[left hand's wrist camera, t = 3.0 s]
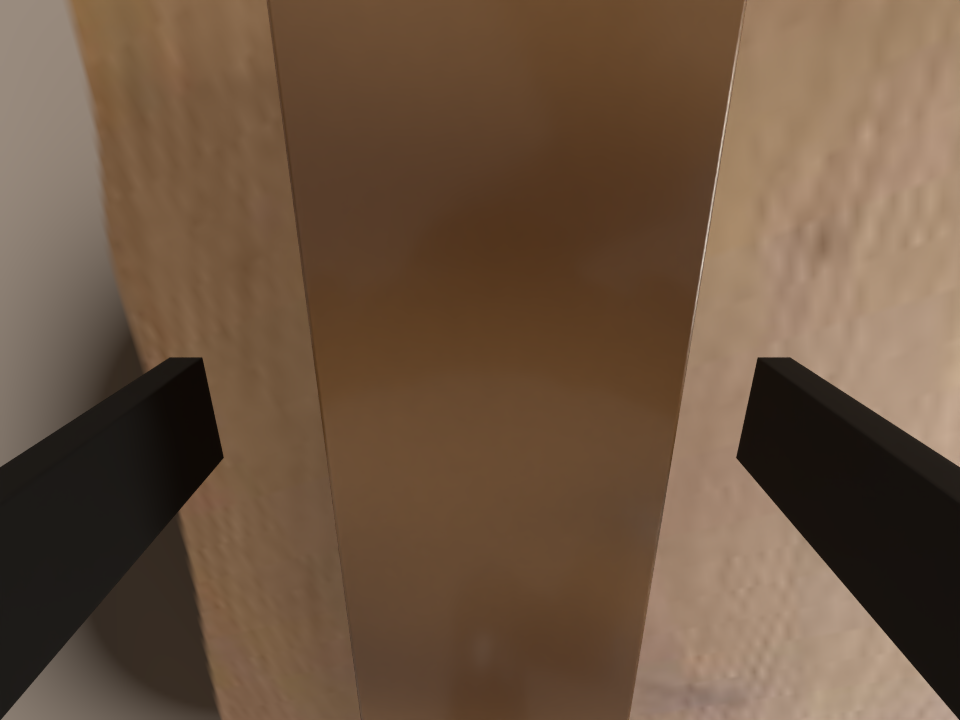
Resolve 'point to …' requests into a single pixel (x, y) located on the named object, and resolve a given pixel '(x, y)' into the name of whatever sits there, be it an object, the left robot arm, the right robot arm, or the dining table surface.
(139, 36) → the dining table surface
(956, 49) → the dining table surface
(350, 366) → the beam
